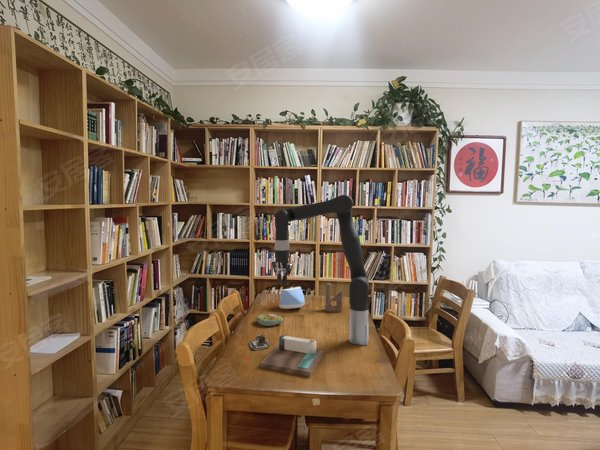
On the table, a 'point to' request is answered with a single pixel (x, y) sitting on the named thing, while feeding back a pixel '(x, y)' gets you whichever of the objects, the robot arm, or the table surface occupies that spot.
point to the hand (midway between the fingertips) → (281, 282)
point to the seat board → (292, 361)
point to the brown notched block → (336, 298)
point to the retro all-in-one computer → (291, 298)
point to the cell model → (269, 319)
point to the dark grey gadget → (259, 343)
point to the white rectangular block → (297, 344)
